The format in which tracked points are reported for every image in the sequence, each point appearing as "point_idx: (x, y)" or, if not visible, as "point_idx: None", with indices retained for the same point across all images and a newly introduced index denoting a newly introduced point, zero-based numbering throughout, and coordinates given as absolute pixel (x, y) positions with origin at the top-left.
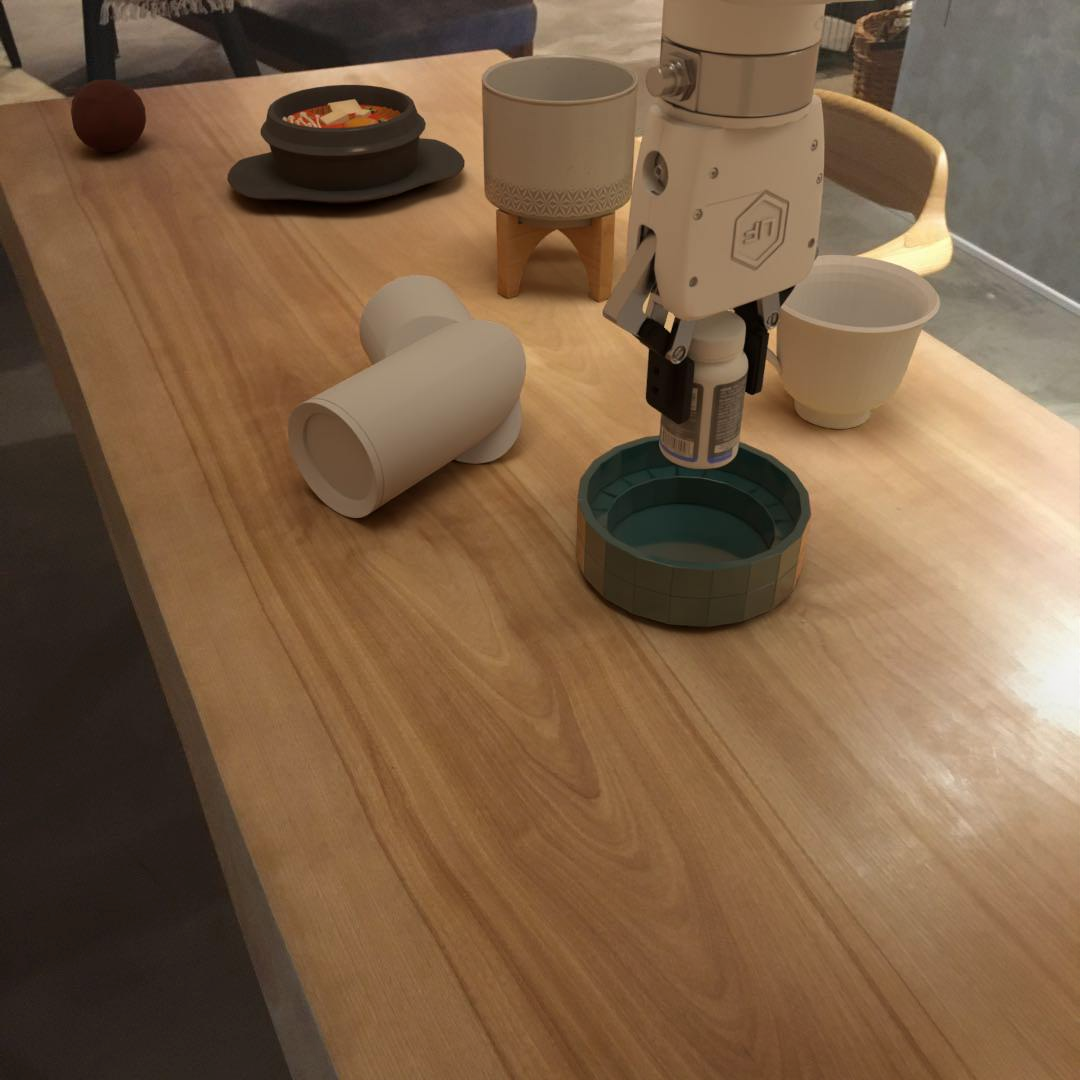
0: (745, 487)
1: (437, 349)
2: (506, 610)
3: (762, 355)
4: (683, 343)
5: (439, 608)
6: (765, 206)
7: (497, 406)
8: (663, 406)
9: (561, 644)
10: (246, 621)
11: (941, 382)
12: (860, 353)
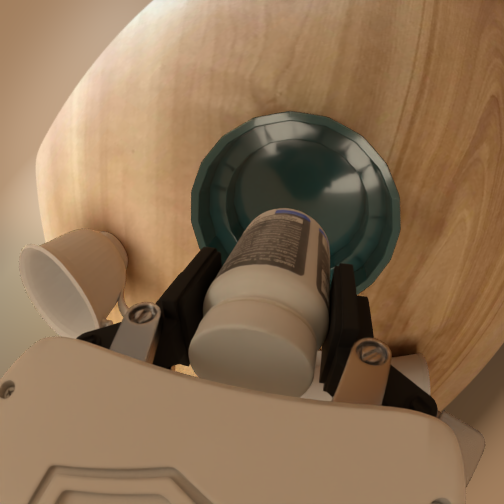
0: (221, 218)
1: None
2: (431, 246)
3: (186, 278)
4: (365, 367)
5: (451, 274)
6: None
7: (314, 381)
8: (365, 297)
9: (432, 197)
10: (497, 322)
11: (55, 230)
12: (74, 257)
